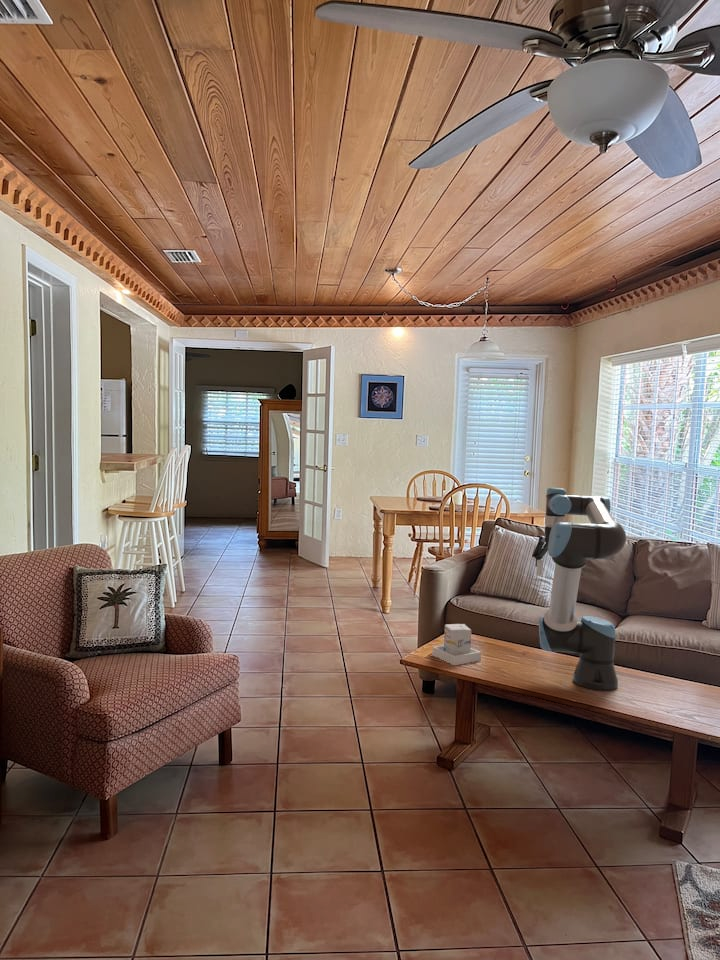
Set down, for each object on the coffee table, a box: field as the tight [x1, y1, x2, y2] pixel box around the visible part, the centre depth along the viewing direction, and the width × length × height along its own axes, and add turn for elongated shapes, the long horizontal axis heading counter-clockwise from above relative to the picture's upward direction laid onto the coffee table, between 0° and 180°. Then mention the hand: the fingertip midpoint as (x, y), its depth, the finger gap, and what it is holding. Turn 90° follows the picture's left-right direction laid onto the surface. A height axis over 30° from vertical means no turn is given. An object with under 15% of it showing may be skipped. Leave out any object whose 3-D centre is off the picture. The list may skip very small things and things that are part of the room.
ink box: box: [443, 623, 472, 656], centre depth 259 cm, size 9×8×12 cm
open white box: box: [432, 644, 482, 666], centre depth 259 cm, size 13×14×4 cm
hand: (551, 578), depth 265 cm, fingers open, 13 cm apart
